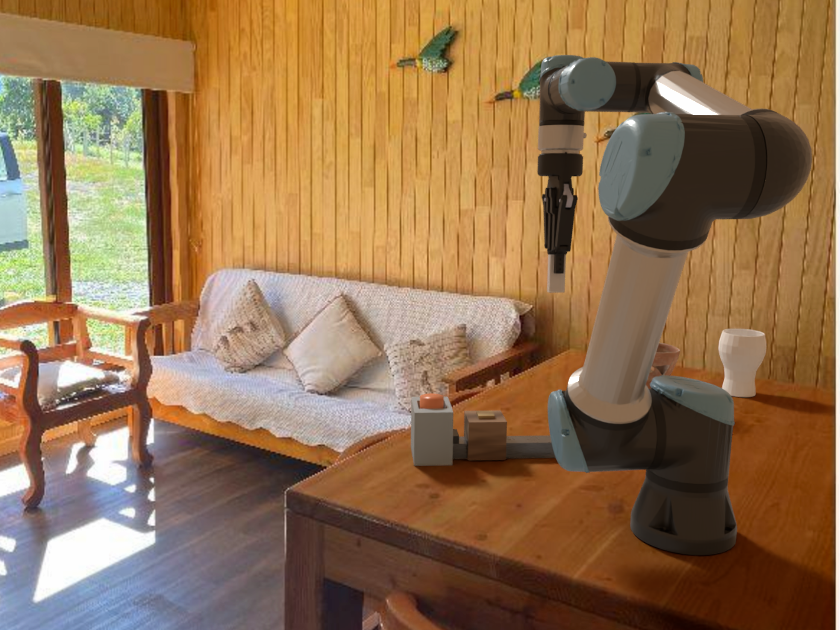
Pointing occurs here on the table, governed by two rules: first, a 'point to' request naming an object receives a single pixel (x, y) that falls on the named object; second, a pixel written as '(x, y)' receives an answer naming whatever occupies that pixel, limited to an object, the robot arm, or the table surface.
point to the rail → (511, 447)
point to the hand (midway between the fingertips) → (555, 291)
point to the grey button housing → (431, 434)
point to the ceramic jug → (663, 361)
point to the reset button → (431, 401)
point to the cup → (741, 359)
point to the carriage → (485, 435)
